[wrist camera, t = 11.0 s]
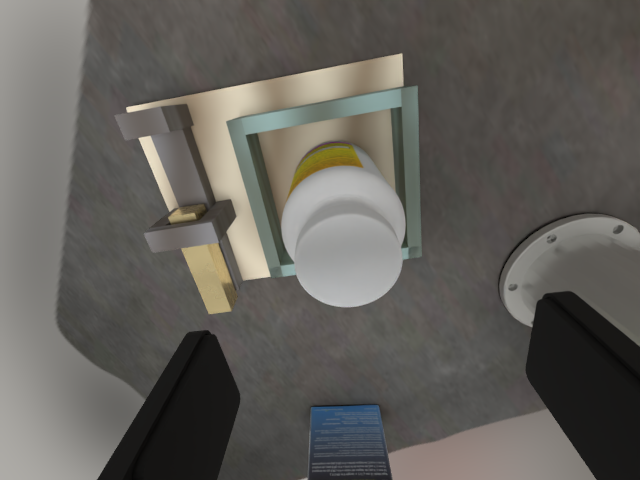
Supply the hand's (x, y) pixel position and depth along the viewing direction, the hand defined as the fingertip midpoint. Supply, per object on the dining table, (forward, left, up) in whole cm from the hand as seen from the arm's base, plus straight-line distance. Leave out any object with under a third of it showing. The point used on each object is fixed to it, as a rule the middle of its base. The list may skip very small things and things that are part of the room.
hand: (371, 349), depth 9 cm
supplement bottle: (0, 0, -17) cm, 17 cm away
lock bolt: (+12, +4, -15) cm, 20 cm away
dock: (+5, 0, -19) cm, 19 cm away
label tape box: (+4, +31, -19) cm, 36 cm away
